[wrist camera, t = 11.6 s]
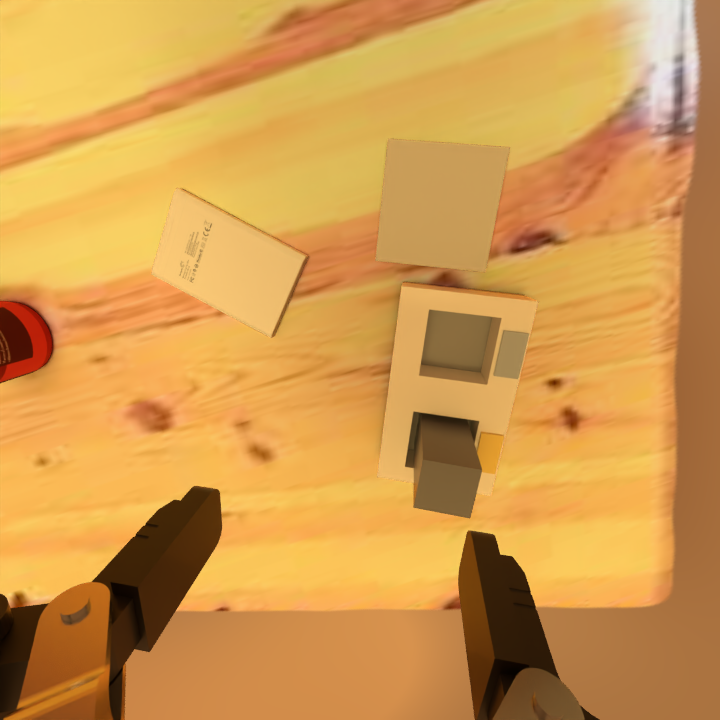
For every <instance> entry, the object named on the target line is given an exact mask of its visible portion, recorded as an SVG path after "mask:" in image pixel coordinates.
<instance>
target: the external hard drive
mask: <svg viewBox="0 0 720 720" xmlns="http://www.w3.org/2000/svg"><path fill="white" fill-rule="evenodd" d="M308 257H309V256H308V255H306V254H304V253H302V252H300V251H299V250H297V249H295V248H293V247H291V246H289V245H287V244H285V243H283V242H281V241H280V240H278V239H276V238H274V237H272V236H270V235H268V234H266V233H264V232H263V231H261V230H259V229H257V228H255V227H253V226H251V225H249V224H247V223H246V222H244V221H242V220H240V219H238V218H236V217H234V216H232V215H230V214H229V213H227V212H225V211H223V210H221V209H219V208H217V207H215V206H213V205H212V204H210V203H208V202H206V201H204V200H202V199H200V198H198V197H196V196H194V195H193V194H191V193H189V192H187V191H185V190H183V189H179V188H176V190H175V192H174V194H173V198H172V201H171V205H170V208H169V212H168V216H167V219H166V223H165V226H164V230H163V233H162V237H161V240H160V243H159V247H158V250H157V254H156V257H155V261H154V264H153V267H152V275H153V276H155V277H157V278H159V279H161V280H163V281H165V282H166V283H168V284H170V285H172V286H174V287H176V288H178V289H179V290H181V291H183V292H185V293H187V294H189V295H191V296H192V297H194V298H196V299H198V300H200V301H202V302H204V303H206V304H208V305H210V306H211V307H213V308H215V309H217V310H219V311H221V312H223V313H225V314H227V315H228V316H230V317H232V318H234V319H236V320H238V321H240V322H242V323H244V324H246V325H247V326H249V327H251V328H253V329H255V330H257V331H259V332H261V333H263V334H265V335H266V336H268V337H270V338H272V337H273V336H274V335H275V333H276V331H277V328H278V326H279V324H280V321H281V319H282V317H283V314H284V312H285V310H286V307H287V305H288V303H289V301H290V298H291V296H292V294H293V291H294V289H295V287H296V284H297V282H298V280H299V277H300V275H301V273H302V270H303V268H304V266H305V264H306V261H307V259H308Z"/></svg>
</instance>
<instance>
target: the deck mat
mask: <svg viewBox="0 0 720 720" xmlns="http://www.w3.org/2000/svg"><path fill="white" fill-rule="evenodd" d="M509 150H510V147H501V146H487V145H472V144H458V143H444V142H429V141H415V140H401V139H388V144H387V153H386V163H385V173H384V182H383V192H382V201H381V211H380V220H379V230H378V240H377V249H376V259H375V261H382V262H391V263H401V264H410V265H420V266H429V267H439V268H448V269H458V270H467V271H477V272H486V268H487V262H488V257H489V252H490V247H491V242H492V237H493V232H494V227H495V222H496V216H497V211H498V206H499V201H500V196H501V191H502V186H503V181H504V176H505V170H506V165H507V160H508V155H509Z"/></svg>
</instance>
